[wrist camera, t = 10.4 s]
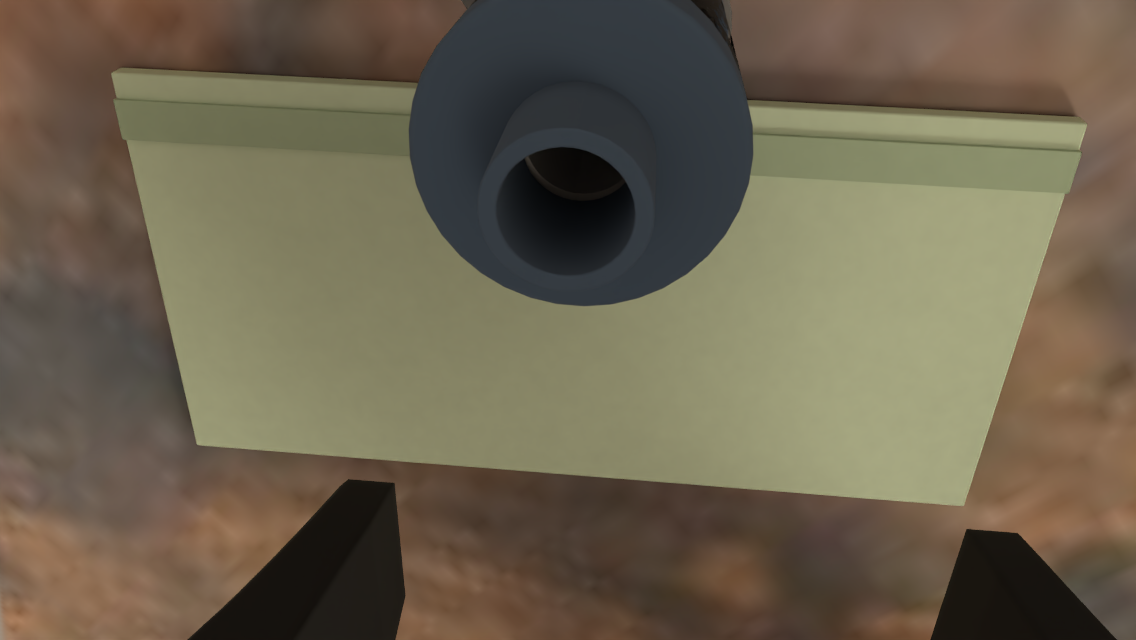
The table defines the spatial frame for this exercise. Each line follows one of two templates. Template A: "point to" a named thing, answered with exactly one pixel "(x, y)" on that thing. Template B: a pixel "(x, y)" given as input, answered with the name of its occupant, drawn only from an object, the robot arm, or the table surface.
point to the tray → (603, 332)
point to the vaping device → (583, 143)
